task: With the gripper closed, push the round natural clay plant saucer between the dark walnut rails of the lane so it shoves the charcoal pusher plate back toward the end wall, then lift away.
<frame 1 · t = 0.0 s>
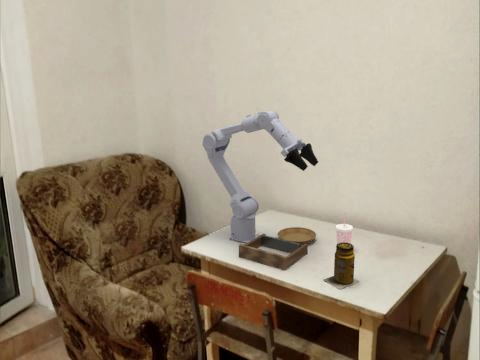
hand: (311, 166, 153), 32 cm above the table, tool tilted 50°, fingers open, 7 cm apart
plant saucer: (296, 240, 175), on the table
saucer lane: (284, 248, 168), on the table
beverage cup: (343, 250, 164), on the table
pusher plate: (279, 250, 165), on the table, slide at 11.0 cm
condiment: (341, 281, 142), on the table
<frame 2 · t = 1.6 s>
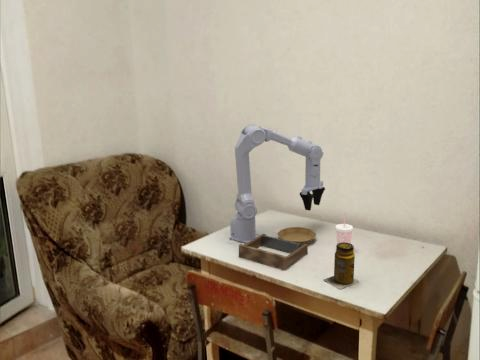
hand: (312, 207, 182), 9 cm above the table, tool pointing down, fingers open, 7 cm apart
nothing on the table moved.
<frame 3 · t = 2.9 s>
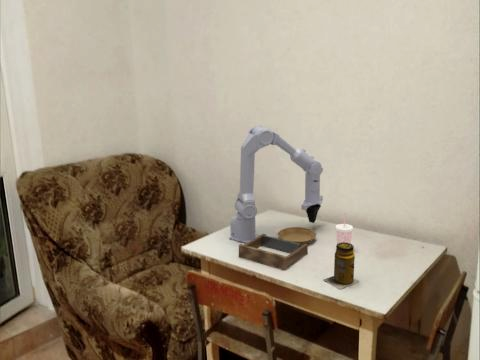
hand: (312, 221, 184), 3 cm above the table, tool pointing down, fingers closed
nothing on the table moved.
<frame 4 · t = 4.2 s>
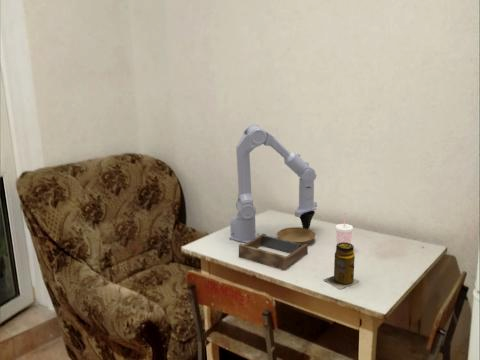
hand: (306, 228, 180), 2 cm above the table, tool pointing down, fingers closed
nothing on the table moved.
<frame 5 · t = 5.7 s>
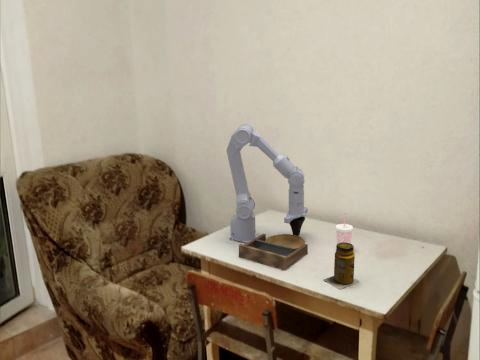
hand: (296, 235, 174), 2 cm above the table, tool pointing down, fingers closed
plant saucer: (285, 248, 168), on the table, touching gripper
pusher plate: (272, 255, 162), on the table, slide at 6.1 cm
everything else where it was.
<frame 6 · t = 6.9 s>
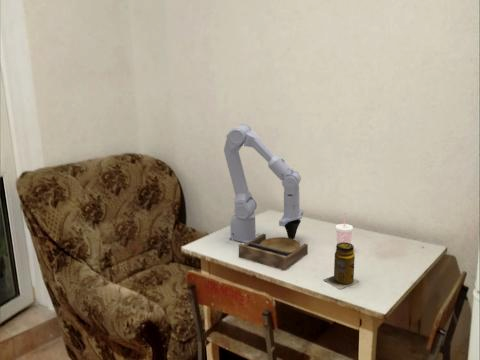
hand: (291, 238, 171), 2 cm above the table, tool pointing down, fingers closed
plant saucer: (280, 251, 166), on the table
pusher plate: (267, 259, 159), on the table, slide at 2.6 cm
everything else where it was.
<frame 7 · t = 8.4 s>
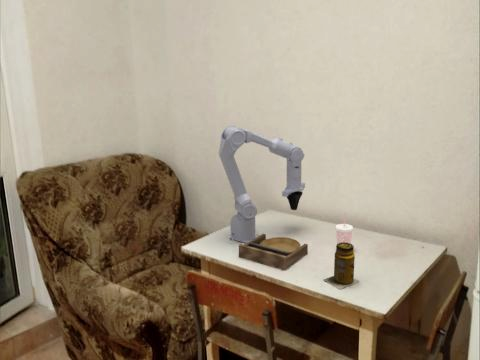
hand: (293, 209, 180), 9 cm above the table, tool pointing down, fingers closed
nothing on the table moved.
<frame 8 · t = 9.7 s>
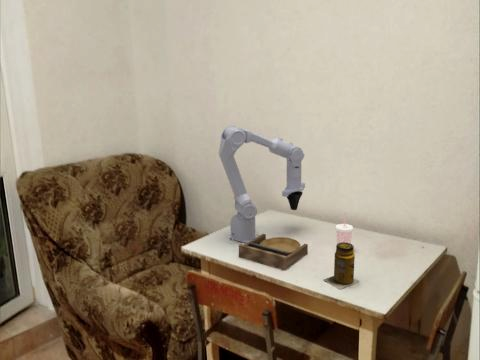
hand: (293, 209, 180), 9 cm above the table, tool pointing down, fingers closed
nothing on the table moved.
at the end: plant saucer inside the target area (0.8 cm from its centre), on the table; pusher plate slide at 2.6 cm; plant saucer tilted 0° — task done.
